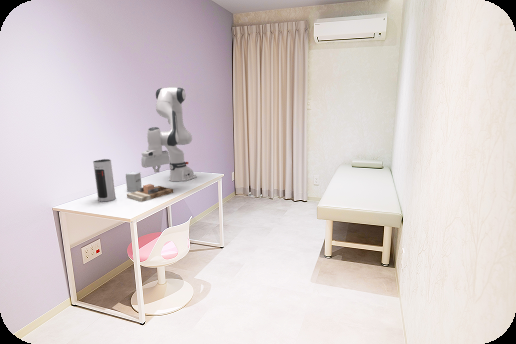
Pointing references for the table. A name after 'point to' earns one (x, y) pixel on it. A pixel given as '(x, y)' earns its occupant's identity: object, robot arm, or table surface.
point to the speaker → (104, 180)
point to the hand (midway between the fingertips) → (156, 172)
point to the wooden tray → (149, 193)
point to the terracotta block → (148, 187)
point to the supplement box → (133, 181)
